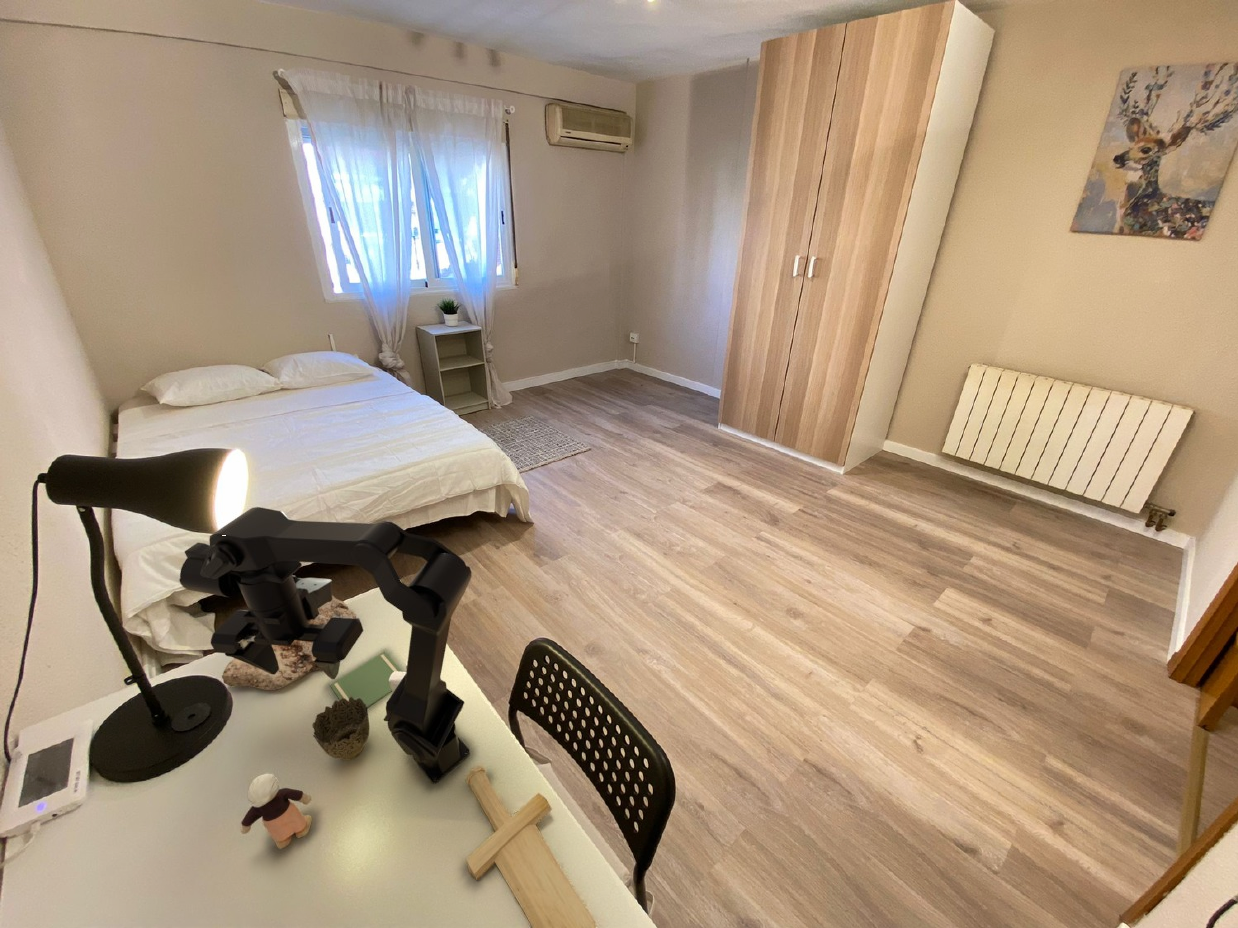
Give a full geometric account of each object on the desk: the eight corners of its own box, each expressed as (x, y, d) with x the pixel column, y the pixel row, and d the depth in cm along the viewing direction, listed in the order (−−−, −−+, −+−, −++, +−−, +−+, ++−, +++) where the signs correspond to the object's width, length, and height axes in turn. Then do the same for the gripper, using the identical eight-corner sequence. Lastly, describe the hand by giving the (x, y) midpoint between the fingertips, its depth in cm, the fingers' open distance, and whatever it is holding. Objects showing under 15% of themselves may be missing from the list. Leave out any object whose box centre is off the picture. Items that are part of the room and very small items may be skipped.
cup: (326, 738, 81) (313, 706, 77) (376, 721, 84) (366, 689, 80) (324, 782, 75) (310, 750, 71) (378, 762, 78) (367, 730, 74)
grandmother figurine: (315, 802, 73) (289, 749, 66) (324, 823, 70) (298, 771, 64) (252, 844, 68) (218, 792, 62) (260, 869, 65) (225, 817, 59)
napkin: (408, 679, 91) (408, 678, 91) (352, 717, 84) (352, 716, 84) (384, 652, 96) (384, 650, 96) (330, 685, 89) (329, 684, 89)
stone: (214, 683, 89) (279, 722, 86) (202, 654, 84) (270, 694, 81) (321, 598, 107) (378, 628, 104) (316, 570, 103) (375, 600, 99)
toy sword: (438, 809, 73) (558, 1046, 53) (432, 799, 71) (555, 1041, 52) (511, 750, 79) (642, 943, 60) (507, 740, 77) (642, 935, 58)
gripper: (370, 561, 74) (391, 636, 82) (249, 553, 75) (281, 628, 83) (326, 618, 65) (354, 697, 72) (188, 608, 66) (230, 687, 73)
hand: (305, 674), depth 75 cm, fingers open, 9 cm apart
